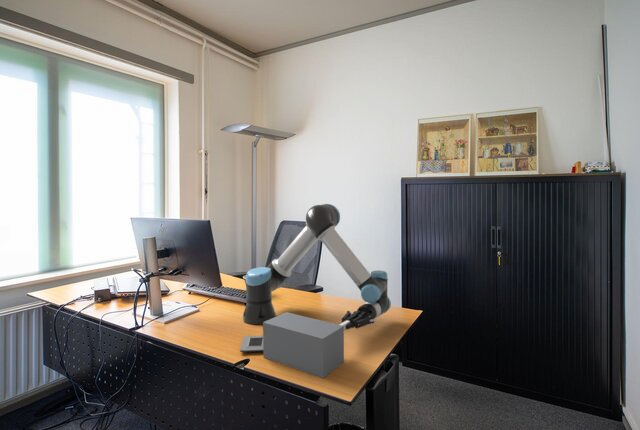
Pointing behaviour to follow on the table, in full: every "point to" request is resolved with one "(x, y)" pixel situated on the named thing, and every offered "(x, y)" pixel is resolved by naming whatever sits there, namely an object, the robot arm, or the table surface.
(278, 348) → the housing
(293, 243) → the robot arm
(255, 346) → the electrical outlet
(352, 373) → the table surface
